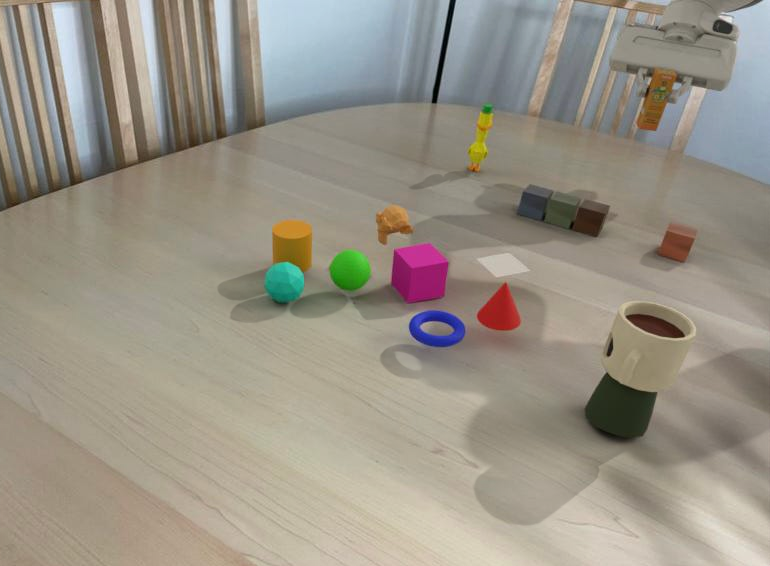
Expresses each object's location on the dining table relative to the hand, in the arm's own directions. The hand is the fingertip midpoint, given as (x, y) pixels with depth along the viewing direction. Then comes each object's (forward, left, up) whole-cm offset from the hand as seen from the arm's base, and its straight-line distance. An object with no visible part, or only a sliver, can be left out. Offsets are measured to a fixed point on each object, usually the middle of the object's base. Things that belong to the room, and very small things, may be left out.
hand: (656, 98), depth 130 cm
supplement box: (0, 0, -6) cm, 6 cm away
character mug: (+50, +59, -15) cm, 79 cm away
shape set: (+62, +31, -15) cm, 71 cm away
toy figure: (+28, -9, -15) cm, 33 cm away
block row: (+21, +19, -15) cm, 32 cm away
